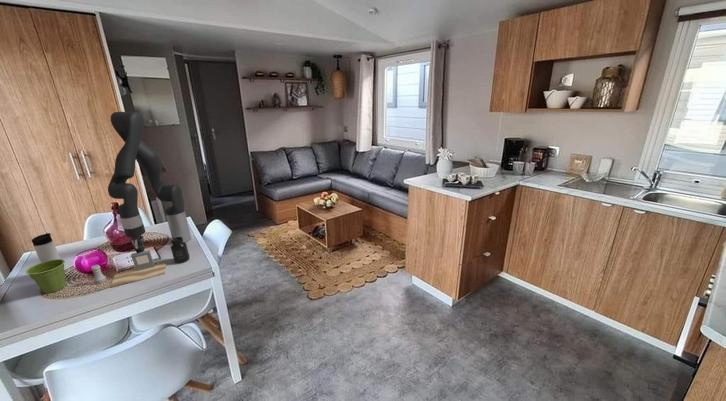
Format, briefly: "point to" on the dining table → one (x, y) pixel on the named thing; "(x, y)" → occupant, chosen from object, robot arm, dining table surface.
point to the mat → (138, 275)
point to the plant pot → (49, 275)
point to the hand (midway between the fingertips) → (143, 258)
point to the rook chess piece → (98, 275)
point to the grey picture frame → (143, 260)
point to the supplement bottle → (179, 250)
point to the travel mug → (45, 248)
